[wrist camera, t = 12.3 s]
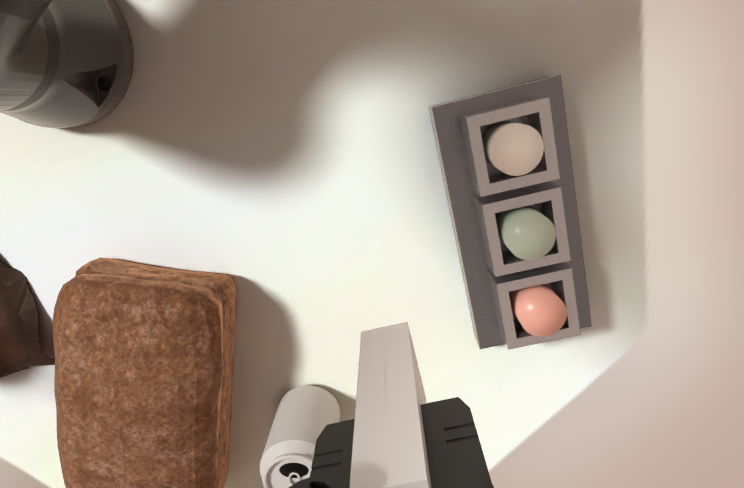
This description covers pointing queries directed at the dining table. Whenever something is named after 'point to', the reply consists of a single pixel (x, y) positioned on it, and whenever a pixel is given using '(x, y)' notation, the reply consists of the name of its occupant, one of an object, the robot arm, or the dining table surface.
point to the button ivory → (513, 147)
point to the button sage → (526, 232)
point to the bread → (144, 376)
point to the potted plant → (18, 325)
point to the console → (505, 192)
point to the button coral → (538, 309)
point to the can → (296, 435)
